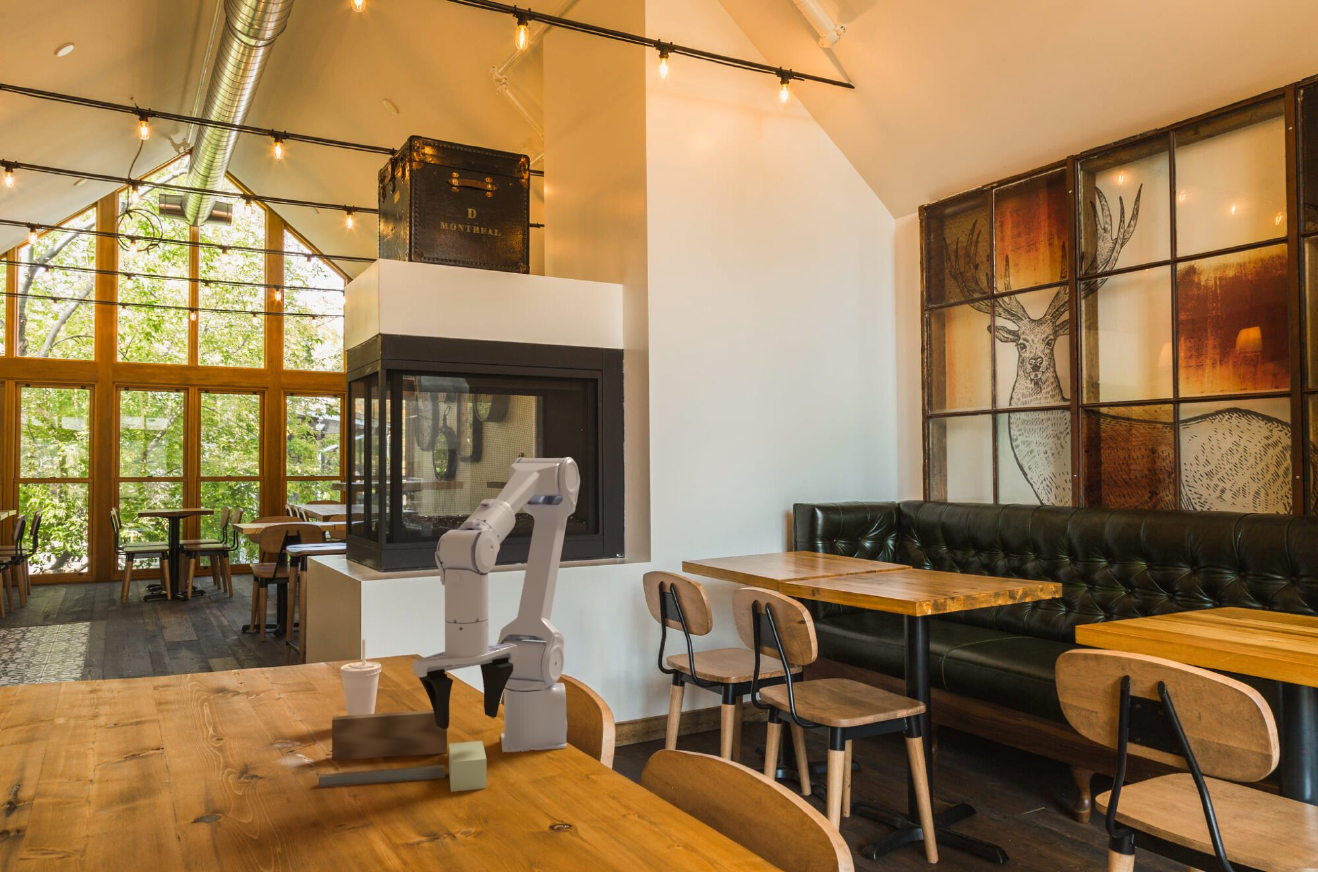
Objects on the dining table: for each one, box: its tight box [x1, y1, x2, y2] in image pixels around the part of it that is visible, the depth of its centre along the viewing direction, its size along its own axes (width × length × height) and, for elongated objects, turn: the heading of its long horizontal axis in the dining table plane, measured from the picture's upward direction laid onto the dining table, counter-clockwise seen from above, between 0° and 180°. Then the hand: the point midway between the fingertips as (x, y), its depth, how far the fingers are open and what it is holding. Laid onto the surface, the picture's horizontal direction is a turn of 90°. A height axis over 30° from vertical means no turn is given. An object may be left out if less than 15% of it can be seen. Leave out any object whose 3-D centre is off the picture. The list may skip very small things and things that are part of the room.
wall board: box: [331, 709, 448, 761], centre depth 129 cm, size 16×2×6 cm, turn 102°
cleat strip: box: [318, 764, 446, 788], centre depth 118 cm, size 16×1×2 cm, turn 102°
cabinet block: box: [448, 740, 488, 793], centre depth 118 cm, size 4×8×4 cm, turn 15°
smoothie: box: [339, 638, 382, 716], centre depth 143 cm, size 6×6×14 cm
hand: (467, 721), depth 118 cm, fingers open, 7 cm apart
